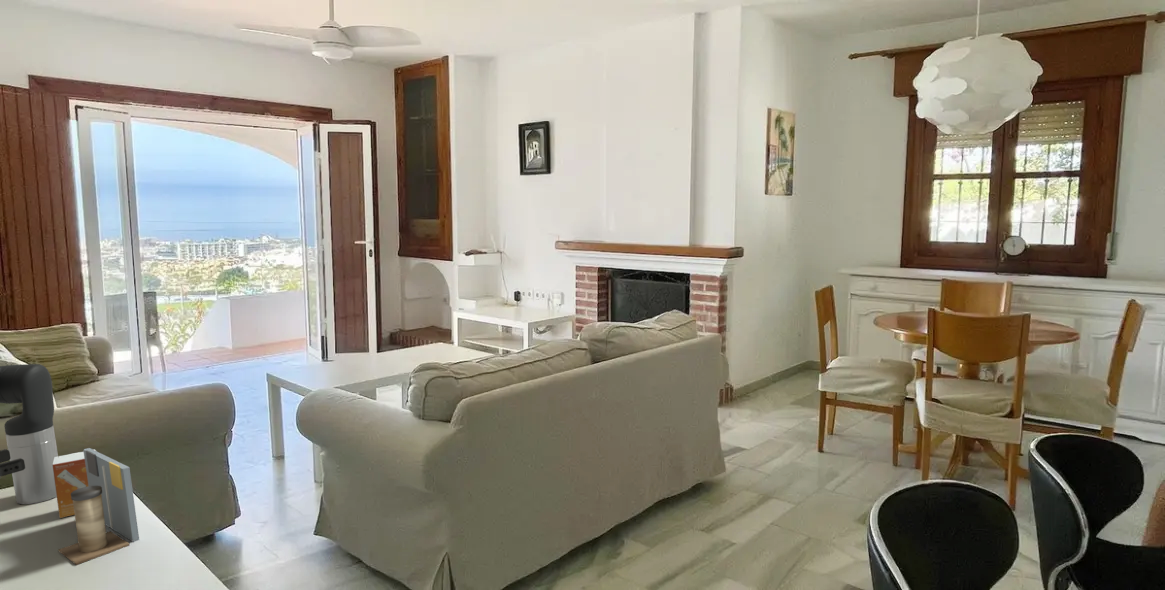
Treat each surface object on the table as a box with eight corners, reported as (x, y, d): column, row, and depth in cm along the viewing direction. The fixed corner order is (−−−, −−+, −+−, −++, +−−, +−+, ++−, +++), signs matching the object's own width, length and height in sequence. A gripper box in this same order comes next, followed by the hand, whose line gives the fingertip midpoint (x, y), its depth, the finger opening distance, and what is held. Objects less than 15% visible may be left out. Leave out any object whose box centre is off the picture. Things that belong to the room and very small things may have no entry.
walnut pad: (58, 551, 145) (58, 549, 145) (110, 532, 152) (110, 531, 152) (76, 565, 139) (76, 563, 139) (129, 545, 146) (129, 543, 146)
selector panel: (91, 517, 161) (81, 448, 159) (98, 514, 162) (89, 446, 160) (131, 542, 148) (121, 468, 145) (139, 539, 149) (129, 465, 147)
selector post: (74, 548, 145) (66, 492, 143) (103, 538, 149) (96, 483, 148) (83, 555, 142) (76, 498, 140) (112, 544, 146) (105, 489, 144)
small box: (59, 519, 160) (51, 464, 159) (61, 509, 166) (53, 456, 164) (102, 509, 165) (94, 456, 163) (102, 500, 170) (95, 448, 168)
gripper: (-93, 479, 117) (26, 447, 130) (-113, 461, 125) (1, 433, 138) (-84, 521, 118) (33, 485, 131) (-104, 501, 126) (8, 469, 139)
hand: (16, 458), depth 134 cm, fingers open, 8 cm apart
